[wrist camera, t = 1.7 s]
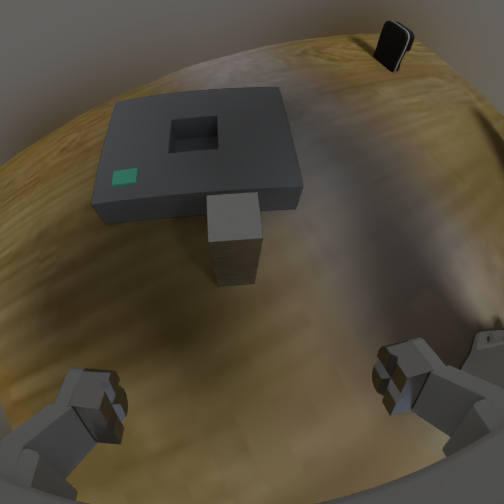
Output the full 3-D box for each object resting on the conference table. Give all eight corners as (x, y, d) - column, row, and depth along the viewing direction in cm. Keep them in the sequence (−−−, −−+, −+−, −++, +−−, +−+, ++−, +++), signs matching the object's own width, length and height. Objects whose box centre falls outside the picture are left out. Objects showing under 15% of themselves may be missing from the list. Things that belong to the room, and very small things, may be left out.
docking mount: (275, 111, 44) (279, 85, 39) (295, 209, 37) (303, 184, 32) (124, 124, 42) (115, 100, 37) (106, 224, 35) (89, 202, 30)
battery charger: (402, 72, 53) (419, 34, 42) (392, 73, 52) (409, 33, 41) (382, 55, 55) (396, 18, 44) (371, 56, 54) (385, 17, 44)
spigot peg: (251, 250, 35) (257, 192, 24) (254, 283, 33) (263, 238, 22) (216, 252, 35) (206, 195, 24) (218, 286, 33) (208, 242, 22)
